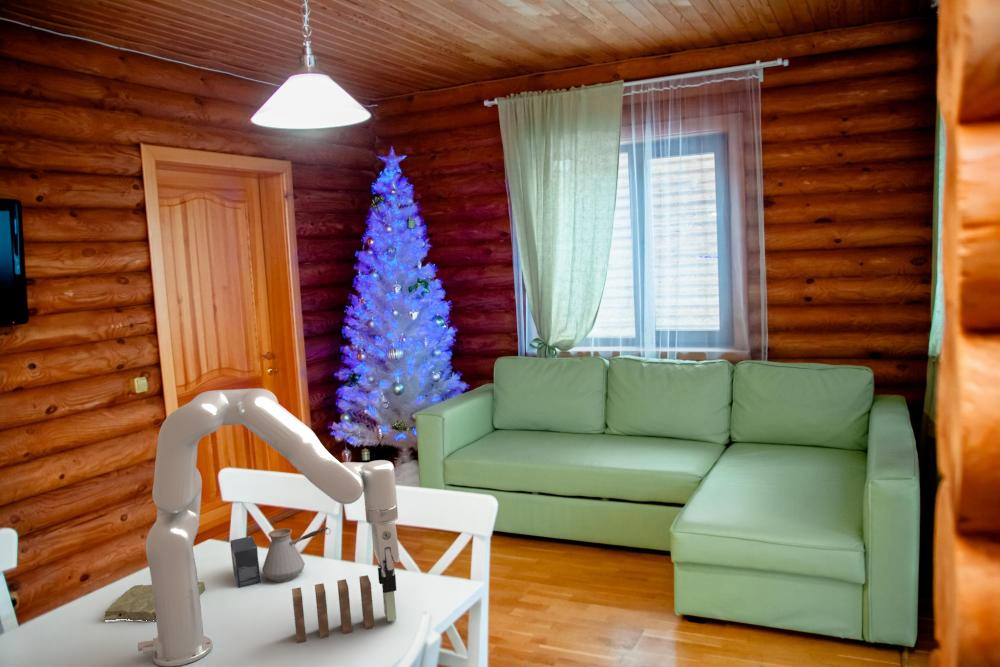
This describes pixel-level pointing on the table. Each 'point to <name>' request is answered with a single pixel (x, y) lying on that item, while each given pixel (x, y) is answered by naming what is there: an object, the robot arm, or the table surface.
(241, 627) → the table surface
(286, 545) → the coffee pot
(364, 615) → the domino
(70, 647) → the table surface
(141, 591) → the decorative tile
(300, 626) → the domino
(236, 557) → the small box
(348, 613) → the domino
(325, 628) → the domino
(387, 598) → the domino
